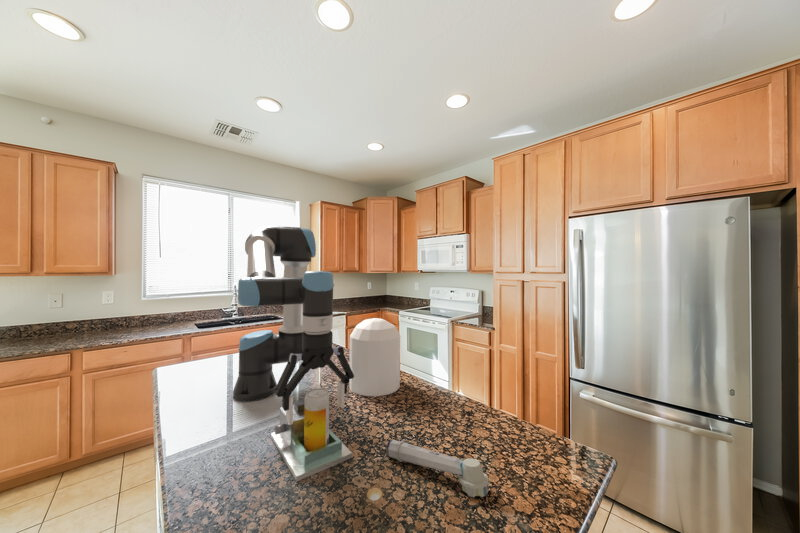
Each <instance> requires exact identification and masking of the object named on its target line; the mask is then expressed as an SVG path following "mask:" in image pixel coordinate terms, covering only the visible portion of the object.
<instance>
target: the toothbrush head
mask: <svg viewBox="0 0 800 533" xmlns="http://www.w3.org/2000/svg"><path fill="white" fill-rule="evenodd" d="M385 449H386V450H385V451H386V457H388V458H391V459H395V460H397V461H398V462H400V463H402V462H405V463H410V464H413V465H418V466H423V467H425V468H430V469H433V470H436V471H441V472H446V473H450V474H454V475H457V476H458V480H459V483H460V484H461V489H462V492H464V493H466V494H467V496H468V497H471V498H475V497H480V498H484V497H486V496H488V493H489V489H488V488H489V487H488V485H489V482H490V481H489V479H490V478H489V477H488V474H486V473H485V472H484V470H483V466H482V463H481V462H480V460H478V459H476V458H471V457H470V458H469V457H468V458H465V459H460V458H458V457H455V456H451V455H447V454H444V453H442V452H437V451H434V450H431V449H427V448H424V447H420V446H418V445H414V444H411V443H407V442H405V440H403V439H402V440H401V441H399V440H395V439H391V440H389V441H388V443H387V445H386V448H385Z"/></svg>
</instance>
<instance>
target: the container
mask: <svg viewBox="0 0 800 533" xmlns="http://www.w3.org/2000/svg"><path fill="white" fill-rule="evenodd" d="M349 366H350V368H351V370H352V372H353V374H354V378H353V379H349V383H348V384H349V385H348V386H349V389H350V392H353V393H354V394H356V395H358V396H359V395H360V396H365V397H383V396H386V395H391V394H393V393H395V392H397V391H398V389H400V387H401V386H400V385H401V333H400V332H399V331H398V329H397V327H396V326H395V325H394V324H393V323H391V322H389V321H388V320H386V319H383V318H380V317H373V318H366V319H364V320H362V321H361V322H359V323H358V324H356V325H355V327H354V328H353V330H352V331H351V334H350V335H349Z"/></svg>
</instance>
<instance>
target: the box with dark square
mask: <svg viewBox="0 0 800 533" xmlns="http://www.w3.org/2000/svg"><path fill="white" fill-rule="evenodd" d="M304 407H305V398H303V399H300V400H297V401H293V424H291V425H289V424H288V422H287V421H286V411H284V409H283V407H282V406H281V407H279V424H278V425H276V426H275V425H274V431H273V432H270V438H271V440H272V442H273V444H274V446H275V447H276V449H277V450H278V452H279V454H280V456H281V458H282V459H283V461H284V463H285V464H286V466H287V468H288V470H289V471H290V473H291V475H292V477H293V479H294V480H295V482H296V483H297V482H299V481H302V480H304V479H306V478H308V477H311V476H313V475H315V474H318V473H320V472H322V471H324V470H327V469H330V468H332V467H334V466H337V465H338V464H340V463H343V462H345V461H348V460H350V459H352V458H353V452H352V451H351V450H350V449H349V447H347V446H346V445H345V444H344V443H343V441H342V440H341V439H340V438H339V437H338V436H337V435H336V434H335V433H334V432H333V431H332V430H331V429H330V428H329V444H328V445H326V446H323V447H320V448H318V449H315V450H313V451H310V452H307V451H306V450H305V449H304Z"/></svg>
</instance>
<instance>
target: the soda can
mask: <svg viewBox="0 0 800 533" xmlns="http://www.w3.org/2000/svg"><path fill="white" fill-rule="evenodd" d="M304 399H305V407H304V449H305V450H306V451H307V452H310V451H313V450H315V449H318V448H320V447H323V446H326V445H328V444H329V429H330V394H329V390H328V389H326V388H319V387H318V388H313V389H310V390H308V391H307V392H306V394H305V396H304Z"/></svg>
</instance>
